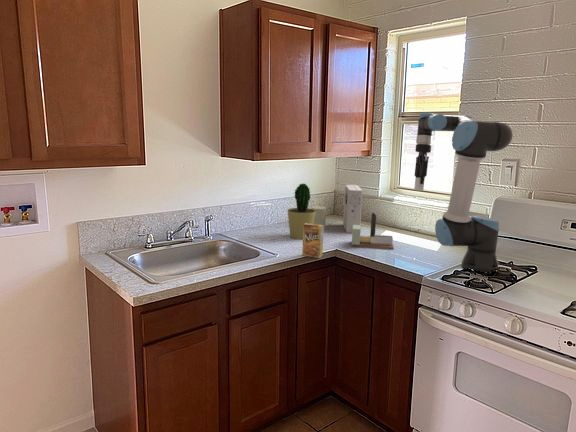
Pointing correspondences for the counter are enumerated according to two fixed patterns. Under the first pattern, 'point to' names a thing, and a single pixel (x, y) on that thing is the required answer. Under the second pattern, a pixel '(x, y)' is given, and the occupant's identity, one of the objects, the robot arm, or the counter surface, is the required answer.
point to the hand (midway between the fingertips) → (418, 190)
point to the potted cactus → (300, 212)
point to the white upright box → (352, 207)
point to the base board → (373, 245)
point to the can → (319, 215)
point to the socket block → (356, 234)
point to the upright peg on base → (372, 233)
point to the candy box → (312, 240)
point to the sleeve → (381, 240)
